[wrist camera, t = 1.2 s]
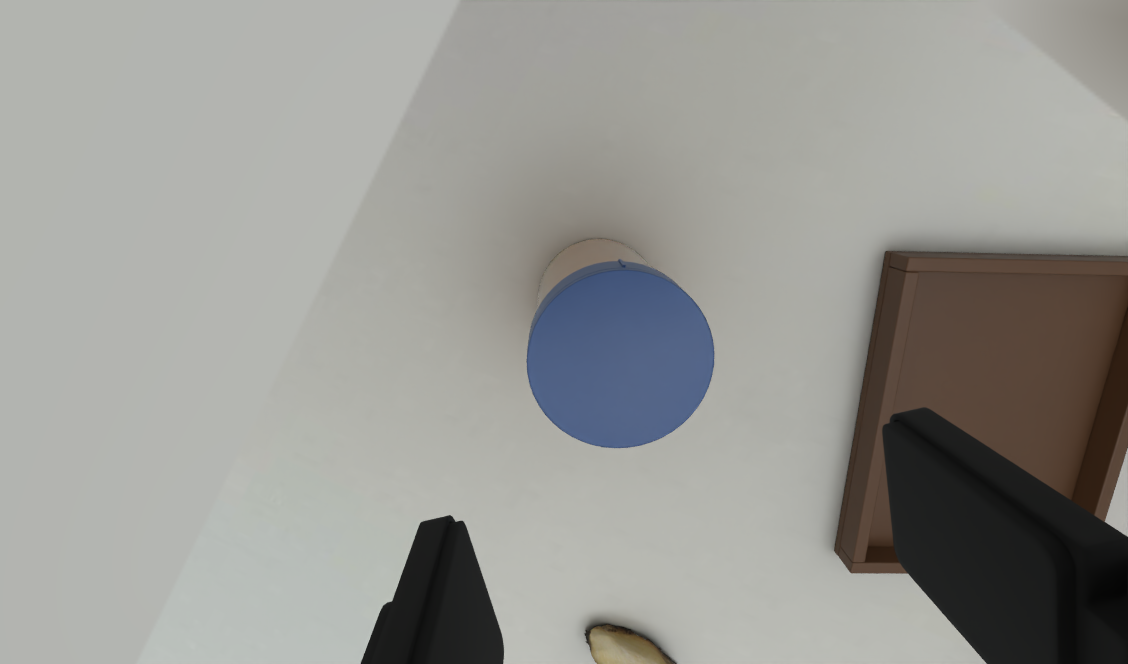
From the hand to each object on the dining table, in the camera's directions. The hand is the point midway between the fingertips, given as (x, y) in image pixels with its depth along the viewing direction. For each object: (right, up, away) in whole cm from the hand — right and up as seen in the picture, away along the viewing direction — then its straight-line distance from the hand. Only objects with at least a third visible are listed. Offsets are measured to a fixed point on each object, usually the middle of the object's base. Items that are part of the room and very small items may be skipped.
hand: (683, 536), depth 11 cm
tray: (+20, -1, +21) cm, 30 cm away
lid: (0, +3, +10) cm, 10 cm away
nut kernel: (+2, -16, +25) cm, 30 cm away
